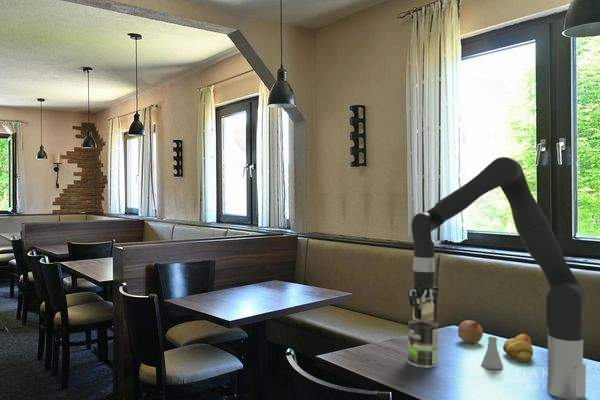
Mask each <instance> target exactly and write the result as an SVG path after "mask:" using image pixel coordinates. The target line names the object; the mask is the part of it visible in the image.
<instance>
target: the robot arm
mask: <svg viewBox="0 0 600 400" xmlns="http://www.w3.org/2000/svg"><path fill="white" fill-rule="evenodd" d="M498 188H500V189H501V191H502V192H503V194H504V195H505V197H506V199H507V202H508V204H509V207H510V209H511V215H512V219H513V223H514V226H515V229H516V233H517V234H518V236H519V238H520V240H521V243H522V244H523V246H524V248H525V250H526V251H527V253H528V254H529V255H530V256H531V258H533V260H534V261H535V262H536V263H537V265H538V266H539V268H540V269H541V270H542V272H543V273H544V276H545V279H546V281H547V283H548V286H549V290H548V292H547V294H546V298H545V299H546V303H545V312H546V314H545V315H546V316H545V317H546V318H545V319H546V321H545V322H546V327H547V383H546V386H547V387H546V389H547V390H546V391H547V393H548V394H549V395H551V396H553V397H556V398H558V399H563V400H581V399H583V398H586V388H587V387H586V380H587V377H586V376H587V366H586V365H587V364H585V363H584V360H583V359H584V356H583V355H584V329H583V325H582V308H583V307H584V306H585V304H586V298H587V297H586V293H585V291H584V289H583V287H582V285H581V284H580V283H579V281H578V279H577V278H576V276H575V275H574V273H573V272H572V271H573V270H571V268H570V266H569V265H568V263H567V261H566V259H565V256H564V254H563V251H562V248H561V247H560V244H559V242H558V240H557V238H556V235H555V233H554V231H553V230H552V227H551V225H550V223H549V221H548V220H547V217H546V216H545V214H544V212H543V210H542V209H541V207H540V205H539V204H538V201H536V199H535V197H534V196H533V194H532V192H531V189H530V187H529V184H528V182H527V178H526V176H525V173H524V170H523V167H522V166H521V164H520V163H519V161H517V160H516V159H514V158H511V157H508V156H499V157H497V158H495V159H493V160H492V162H490V163H489V164H488V165H487V166H486V167H485V168H483V170H481V171H480V172H479V173H478V174H477V175H475V176H474V177H473V178H472V179H470V180H469V181H468V182H467V183H465V184H463V185H462V186H461V187H459V188H457V189H456V190H454V191H453V192H452V191H451V193H450V194H447V195H446V196H445V197H444V198H442V199H440V200H439V201H437V202H436V203H435V204H434V206H433V207H431V208H430V209H428V210H426V211H424V212H418V213H416V214H415V215H414V216H413V218H412V220H411V226H410V228H411V234H412V240H413V259H412V260H413V262H412V282H413V283H414V287H413V289H408V290H407V295H408V301H409V306H410V307H412V308H413V307H414V309H415V311H414V316H415V318H416V319H421V304H422V303H423V302H424V301H427V302H430V303H434V305H437V303H438V298H439V297H438V296H439V291H440V288H439V287H438V286H434V284H435V283H436V259H435V258H436V257H435V249H436V248H435V242H434V241H433V239H432V231H434V230H436V229H438V228H439V227H440V226H441V225H443V224H444V223H446V221H448V220H450V219H452V218H453V217H455V216H458V214H460V213H461V212H463V211H464V210H466V209H468V208H469V207H470V206H471V205H473V203H474V202H476V201H477V200H479V199H480V198H481V197H482V196H483V195H485V194H487V193H488V192H490V191H492V190H495V189H498ZM413 302H414V303H413ZM418 302H419V304H417V303H418Z"/></svg>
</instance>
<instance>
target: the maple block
mask: <svg viewBox="0 0 600 400" xmlns="http://www.w3.org/2000/svg"><path fill="white" fill-rule="evenodd" d="M413 303H414V302H413ZM417 304H419V302H418V303H417ZM434 307H435V304H434V303H430V302H427V301H425V300H424V302H423V303H422V304H421V319H416V318H415V316H414V311H415V309H414V307H412V320H418V321H421V322H428V321H434V319H435V317H434Z"/></svg>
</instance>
